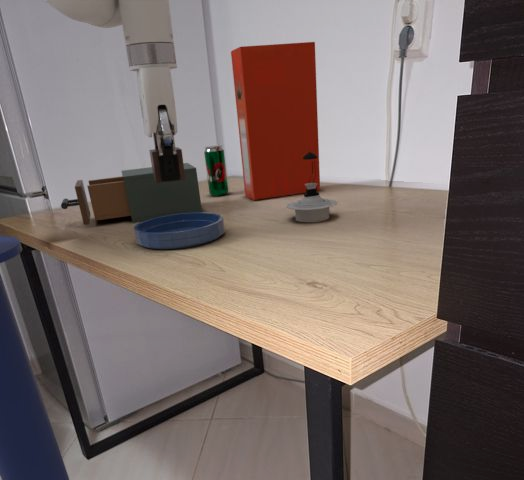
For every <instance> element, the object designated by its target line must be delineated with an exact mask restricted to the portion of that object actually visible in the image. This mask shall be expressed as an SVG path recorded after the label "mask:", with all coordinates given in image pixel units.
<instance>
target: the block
mask: <svg viewBox="0 0 524 480" xmlns="http://www.w3.org/2000/svg"><path fill="white" fill-rule="evenodd" d="M175 147H176V155H177V156H178V163H179V170H180V179H179V180H173V181H182V180H185V172H184V164H183V163H184V157H183V150H182V148H180V147H177V146H175ZM158 156H160V155H159V150H158V149H155V148H154V149H149V157H150V163H151V167H152V171H153V177H154V180H155V182H156V183H164V182H173V181H162V180H161V174H160V167H159V160H158Z"/></svg>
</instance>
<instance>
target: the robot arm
mask: <svg viewBox="0 0 524 480" xmlns="http://www.w3.org/2000/svg"><path fill="white" fill-rule="evenodd" d="M43 1H44V2H45V3H47V4H48V5H49V6H51V7H52V8H53V9H55V10H56V11H58V12H59V13H61V14H62V15H64V16H65V17H67V18H69V19H71V20H73V21H77V22H80V23H84V24H89V25H91V26H95V27H99V28H103V29H109V28H110V29H111V28H115V27H120V26H122V31H123V37H124V44H125V48H126V49H125V50H126V57H127V63H128V68H129V71H130V72H136V79H137V80H136V82H137V89H138V98H139V105H140V111H141V118H142V124H143V126H142V127H143V133H144V135H145V136H147V137H148V138H153V144H154V149H158V150H159V155H160V156H158V160H159V167H160V174H161V180H162V181H173V180H179V179H180V170H179V163H178V156H177V155H176V147H177V146H176V141H175V136H176V134H177V133H178V120H177V111H176V110H177V109H176V101H175V93H174V87H173V78H172V73H171V70H173V69H177V68H178V66H177V56H176V49H175V42H174V33H173V25H172V17H171V9H170V0H43Z"/></svg>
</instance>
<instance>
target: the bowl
mask: <svg viewBox="0 0 524 480" xmlns="http://www.w3.org/2000/svg"><path fill="white" fill-rule="evenodd" d="M225 228H226V227H225V219H224V216H223V215H221V214H219V213H215V212H208V211H207V212H205V211H202V212H192V213H180V214H172V215H166V216H160V217H156V218H152V219H149V220H144V221H139V222H138V223H136V224H135V225H134V226H133V232H134V236H135V237H134V238H135V242H136V245H137V244H138V245H139V246H140V247H144V248H147V249H150V250H151V249H152V250H177V249H186V248H192V247H197V246H202V245H204V244H208V243H210V242H213V241H215V240H217V239H218V238H220V237H221V236H222V235H224V234H225V231H226V229H225Z"/></svg>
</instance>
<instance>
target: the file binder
mask: <svg viewBox="0 0 524 480" xmlns="http://www.w3.org/2000/svg"><path fill="white" fill-rule="evenodd" d="M230 56H231V57H230V58H231V65H232V77H233V87H234V97H235V106H236V107H235V108H236V117H237V127H238V136H239V145H240V146H239V147H240V156H241V166H242V167H241V168H242V175H243V176H242V177H243V187H244V195H245V198H248V199H250V200H252V201H260V200H266V199H272V198H280V197H286V196H293V195H301V194H306V192H307V191H306V189H307V187H306V186H305V184H307V183H318V184H317V186H316V188H317V192H320V191H321V176H320V172H321V171H320V147H319V121H318V120H319V118H318V117H319V116H318V91H317V63H316V41H307V42H292V43H277V44H262V45H261V44H260V45H259V44H258V45H243V46H239V47H237V48H235V49H233V50H231V51H230ZM309 151H310V152H311V153H313V154H315V155H316V156H317V158H316V159H307V160H305V159H303V157H304V156H305V155H306V154H307V153H309ZM314 160H315V165H314ZM312 162H313V174H312ZM315 172H316V177H315ZM311 176H312V177H311ZM310 177H311V178H310ZM314 178H315V179H314ZM313 179H314V180H313ZM309 180H310V182H309Z"/></svg>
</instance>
